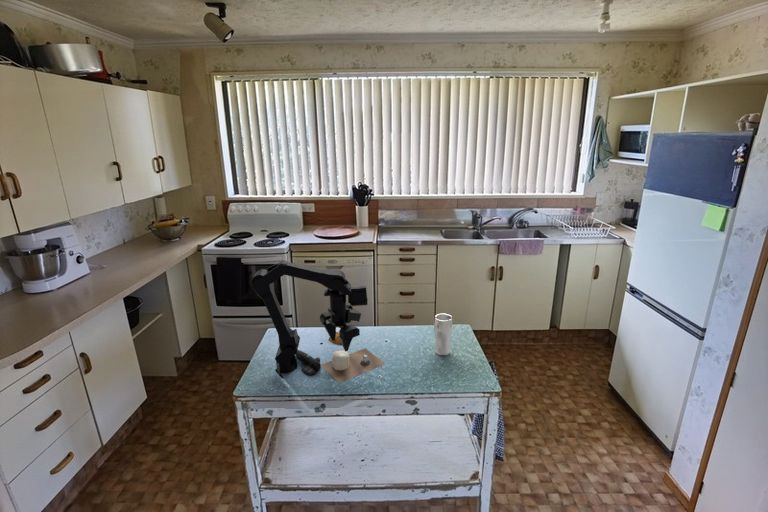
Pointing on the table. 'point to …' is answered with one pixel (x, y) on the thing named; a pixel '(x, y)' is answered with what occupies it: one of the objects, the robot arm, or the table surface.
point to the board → (354, 366)
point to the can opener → (308, 363)
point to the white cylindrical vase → (442, 333)
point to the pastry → (336, 339)
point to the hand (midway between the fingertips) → (339, 345)
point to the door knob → (365, 360)
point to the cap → (340, 360)
